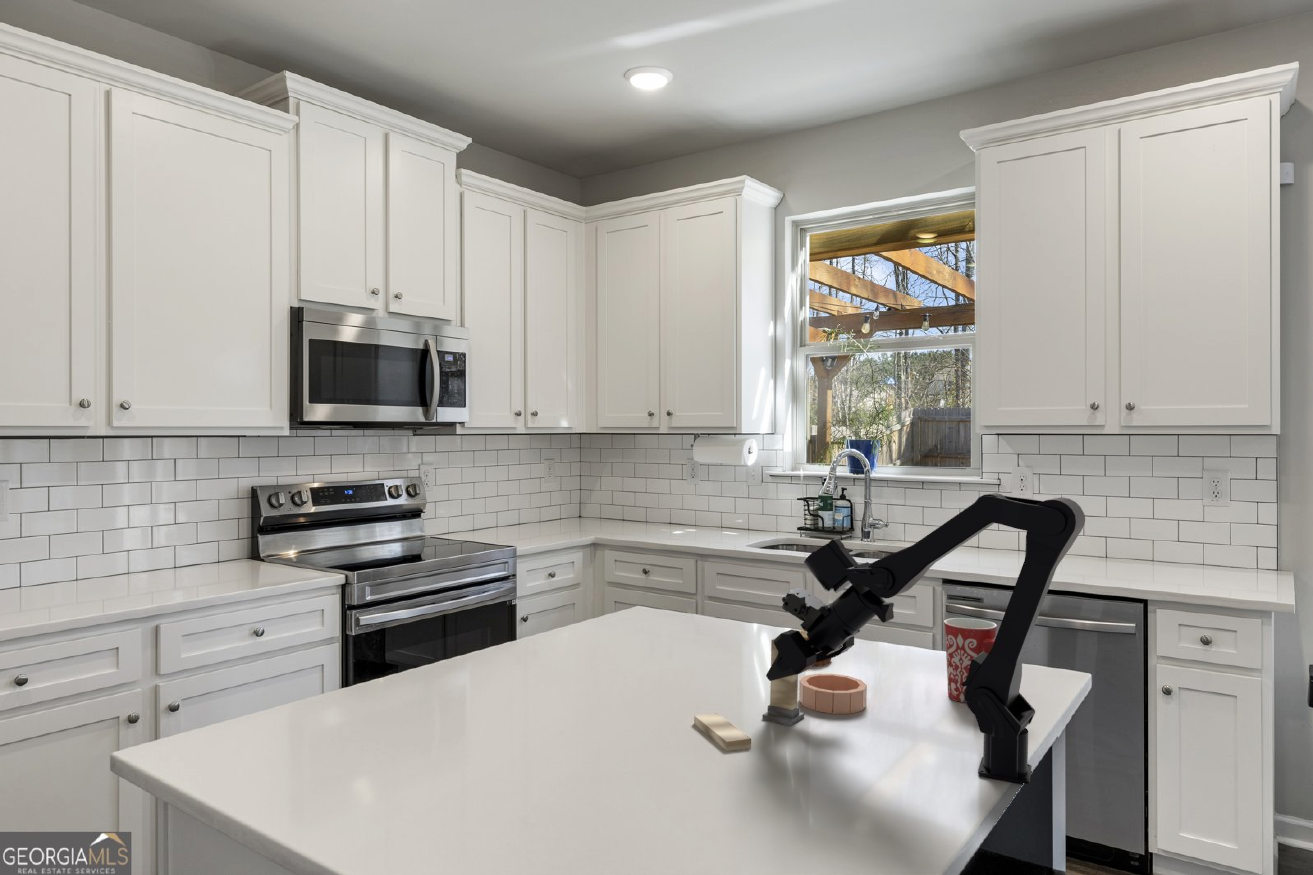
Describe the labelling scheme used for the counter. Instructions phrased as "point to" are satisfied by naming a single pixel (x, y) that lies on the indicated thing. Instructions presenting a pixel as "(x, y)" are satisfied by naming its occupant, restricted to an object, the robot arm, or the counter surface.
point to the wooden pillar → (783, 698)
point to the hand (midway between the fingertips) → (781, 672)
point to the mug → (965, 649)
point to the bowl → (833, 693)
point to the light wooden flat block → (722, 731)
